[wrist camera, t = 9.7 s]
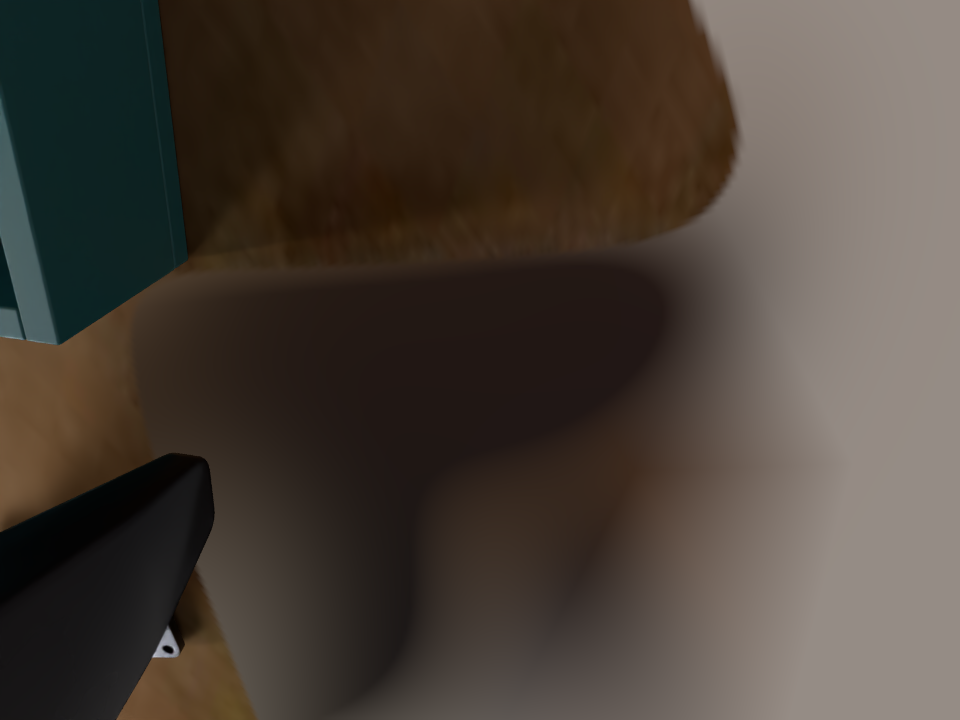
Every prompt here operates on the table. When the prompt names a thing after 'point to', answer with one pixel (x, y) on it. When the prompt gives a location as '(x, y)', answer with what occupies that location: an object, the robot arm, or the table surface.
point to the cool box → (83, 163)
